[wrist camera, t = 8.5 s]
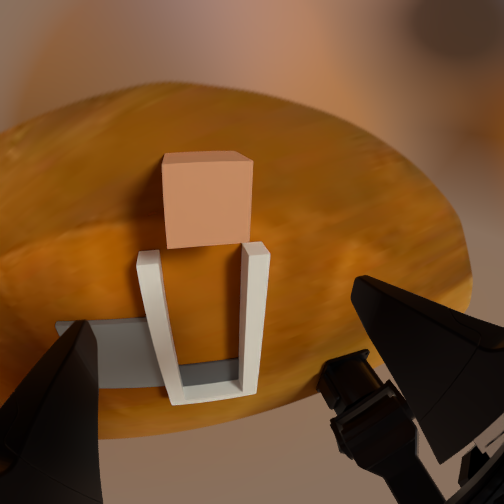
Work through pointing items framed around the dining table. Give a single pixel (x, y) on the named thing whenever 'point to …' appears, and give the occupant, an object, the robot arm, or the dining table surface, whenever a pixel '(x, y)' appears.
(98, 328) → the coaster
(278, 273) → the dining table surface
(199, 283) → the dining table surface
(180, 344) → the dining table surface
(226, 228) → the block
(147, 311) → the channel
